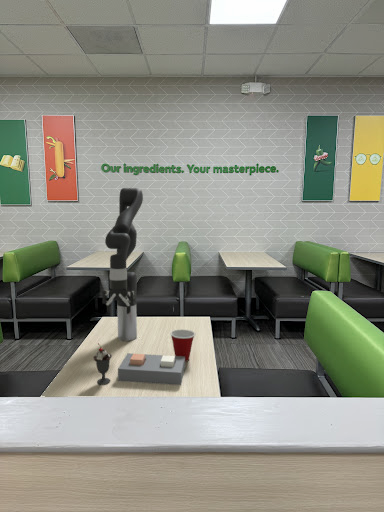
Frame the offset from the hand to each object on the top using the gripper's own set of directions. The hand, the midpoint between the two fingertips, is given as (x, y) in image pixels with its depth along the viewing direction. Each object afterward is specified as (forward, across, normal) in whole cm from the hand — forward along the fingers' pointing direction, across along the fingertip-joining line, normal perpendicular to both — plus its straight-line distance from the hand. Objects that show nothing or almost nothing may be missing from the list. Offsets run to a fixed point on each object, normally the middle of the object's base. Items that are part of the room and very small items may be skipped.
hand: (118, 313), depth 152 cm
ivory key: (+15, -26, +20) cm, 36 cm away
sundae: (+18, -2, +27) cm, 33 cm away
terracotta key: (+15, -14, +20) cm, 28 cm away
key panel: (+18, -20, +20) cm, 33 cm away
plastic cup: (+18, -30, +5) cm, 35 cm away
